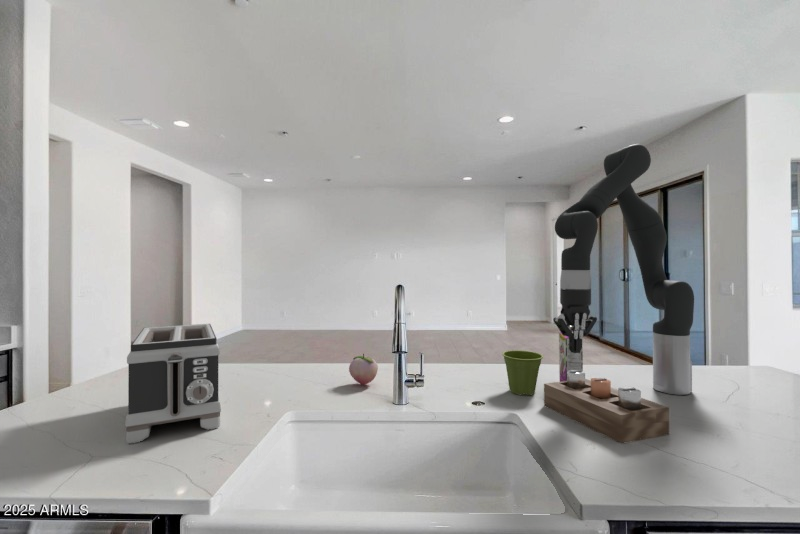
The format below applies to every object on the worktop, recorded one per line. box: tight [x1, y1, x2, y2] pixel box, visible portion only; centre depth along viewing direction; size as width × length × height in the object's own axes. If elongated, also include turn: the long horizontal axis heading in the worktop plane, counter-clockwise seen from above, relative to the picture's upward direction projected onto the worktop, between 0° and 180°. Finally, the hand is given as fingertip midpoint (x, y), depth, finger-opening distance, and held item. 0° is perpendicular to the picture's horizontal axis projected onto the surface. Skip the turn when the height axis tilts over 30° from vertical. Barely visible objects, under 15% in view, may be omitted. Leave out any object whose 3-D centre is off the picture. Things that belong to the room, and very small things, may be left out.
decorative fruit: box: [348, 353, 379, 386], centre depth 124 cm, size 9×8×10 cm
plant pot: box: [501, 349, 544, 396], centre depth 117 cm, size 12×12×11 cm
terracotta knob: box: [590, 377, 612, 398], centre depth 96 cm, size 4×4×4 cm
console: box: [543, 378, 670, 444], centre depth 96 cm, size 14×24×6 cm, turn 19°
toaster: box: [124, 323, 222, 444], centre depth 97 cm, size 18×34×21 cm, turn 29°
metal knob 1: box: [567, 370, 586, 388], centre depth 103 cm, size 4×4×4 cm
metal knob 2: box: [617, 386, 642, 409], centre depth 88 cm, size 4×4×4 cm
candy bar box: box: [558, 331, 584, 382], centre depth 121 cm, size 11×5×16 cm, turn 168°
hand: (575, 352), depth 103 cm, fingers closed
